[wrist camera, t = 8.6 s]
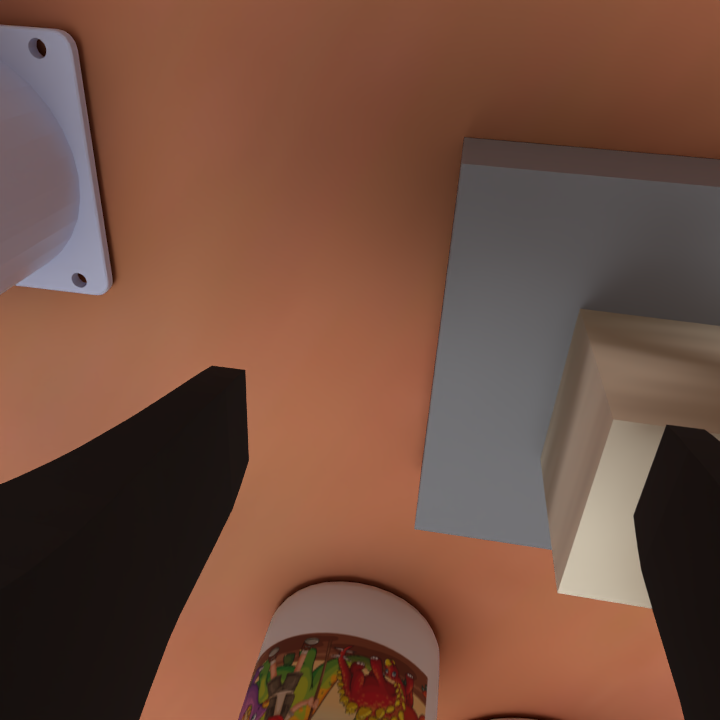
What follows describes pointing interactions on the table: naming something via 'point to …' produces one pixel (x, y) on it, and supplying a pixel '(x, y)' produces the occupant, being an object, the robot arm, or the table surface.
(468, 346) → the grey base
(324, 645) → the milk bottle
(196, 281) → the table surface
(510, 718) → the fruit juice
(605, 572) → the maple cube
